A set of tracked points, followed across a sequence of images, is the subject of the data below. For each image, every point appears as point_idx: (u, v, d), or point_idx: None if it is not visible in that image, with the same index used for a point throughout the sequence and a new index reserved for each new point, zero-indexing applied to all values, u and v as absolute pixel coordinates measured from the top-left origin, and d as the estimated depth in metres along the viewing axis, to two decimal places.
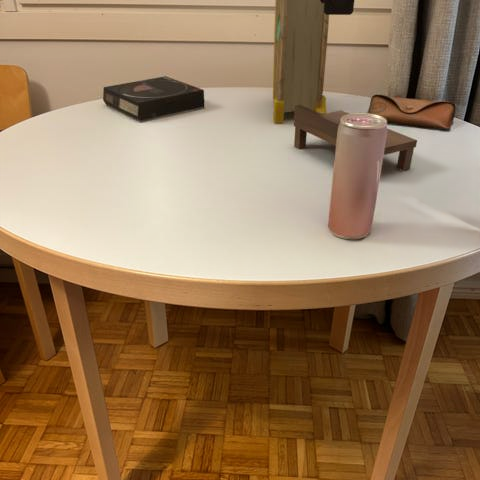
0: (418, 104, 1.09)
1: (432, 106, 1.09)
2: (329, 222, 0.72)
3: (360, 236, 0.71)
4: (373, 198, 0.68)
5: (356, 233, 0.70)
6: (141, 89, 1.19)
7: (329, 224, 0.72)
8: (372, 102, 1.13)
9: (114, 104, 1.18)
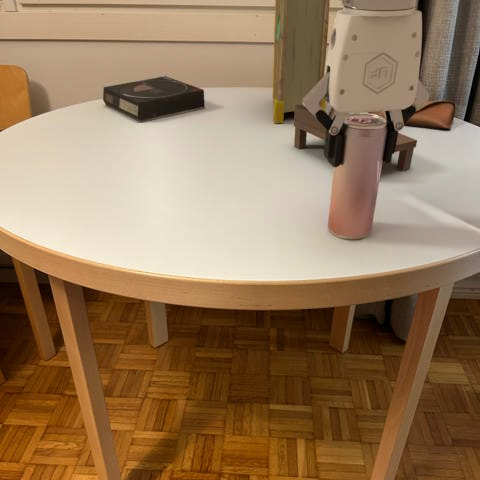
0: None
1: (432, 106, 1.09)
2: (329, 222, 0.72)
3: (360, 236, 0.71)
4: (373, 198, 0.68)
5: (356, 233, 0.70)
6: (141, 89, 1.19)
7: (329, 224, 0.72)
8: None
9: (114, 104, 1.18)
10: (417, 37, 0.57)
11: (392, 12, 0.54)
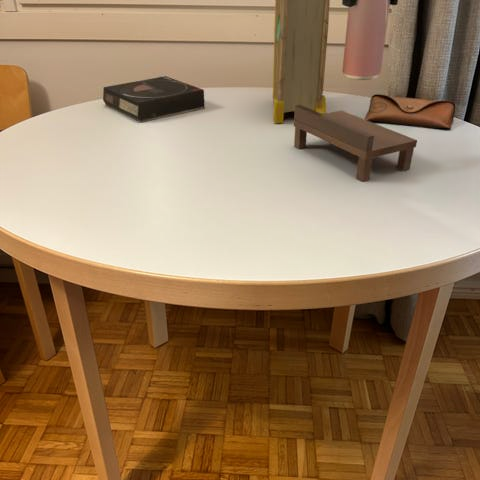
0: (419, 103, 1.09)
1: (432, 105, 1.09)
2: (344, 66, 0.83)
3: (371, 76, 0.82)
4: (382, 38, 0.79)
5: (367, 72, 0.81)
6: (141, 89, 1.19)
7: (344, 68, 0.83)
8: (372, 102, 1.14)
9: (114, 104, 1.18)
10: None
11: None
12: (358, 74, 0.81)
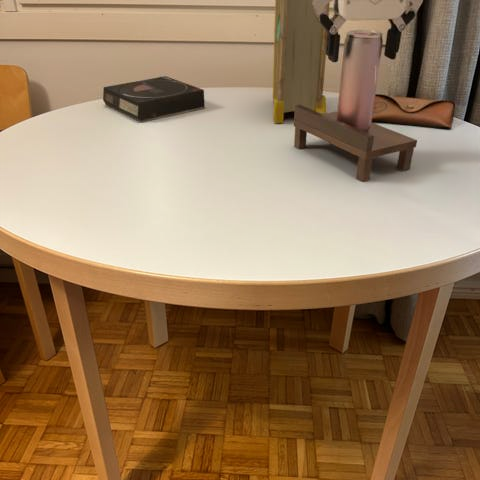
0: (419, 103, 1.09)
1: (433, 105, 1.10)
2: None
3: (362, 130, 0.90)
4: (372, 97, 0.87)
5: (358, 127, 0.89)
6: (141, 89, 1.19)
7: None
8: None
9: (114, 104, 1.18)
10: None
11: None
12: None
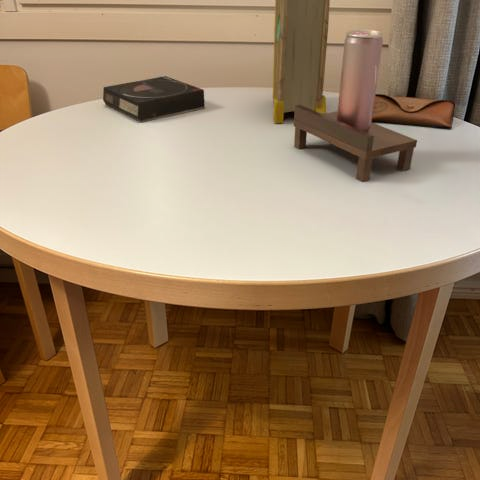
0: (419, 103, 1.10)
1: (433, 104, 1.10)
2: None
3: (362, 130, 0.90)
4: (372, 97, 0.87)
5: (358, 128, 0.89)
6: (141, 89, 1.19)
7: None
8: None
9: (114, 104, 1.18)
10: None
11: None
12: None
